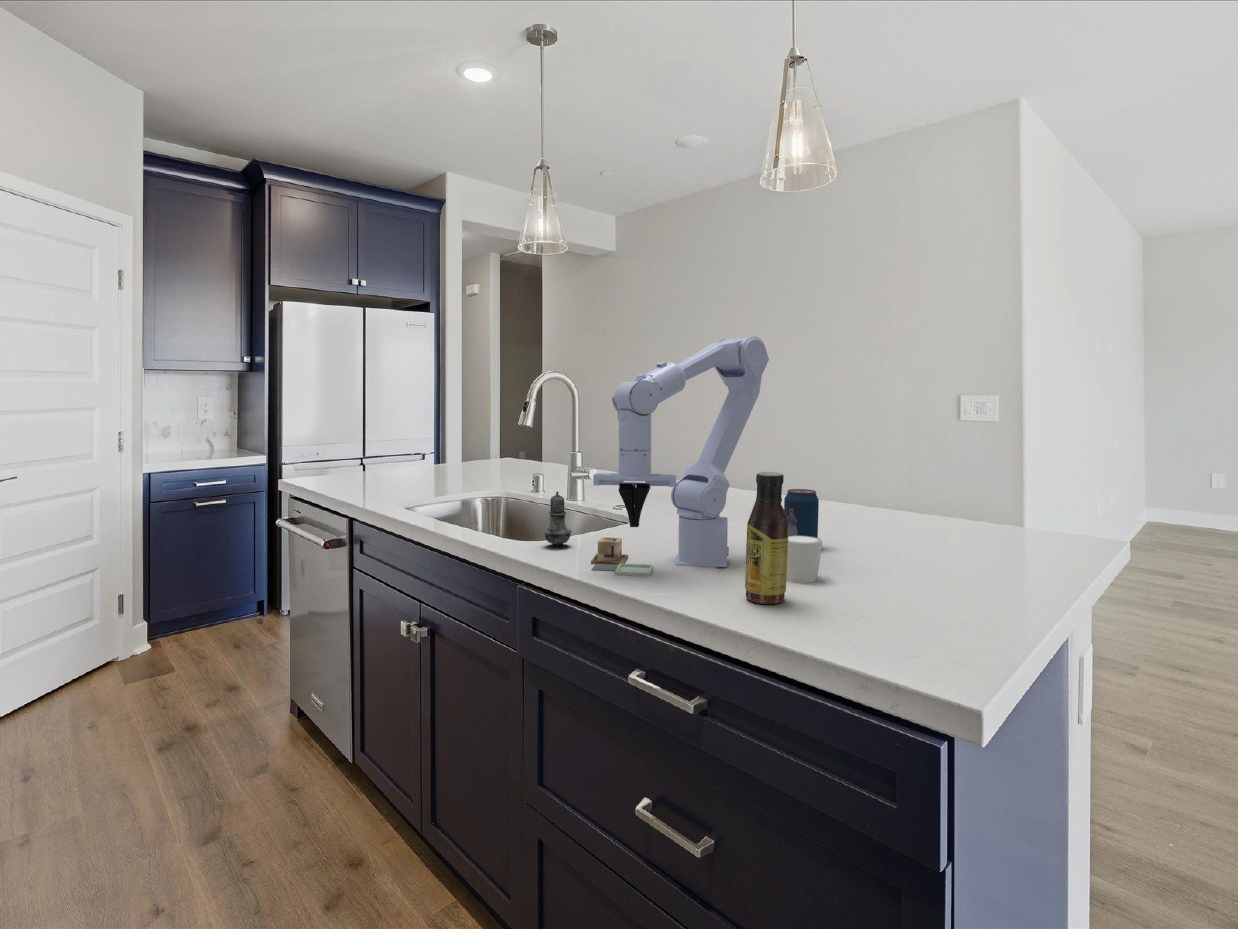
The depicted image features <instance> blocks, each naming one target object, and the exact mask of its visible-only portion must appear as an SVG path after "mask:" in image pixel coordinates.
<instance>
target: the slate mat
mask: <svg viewBox="0 0 1238 929" xmlns="http://www.w3.org/2000/svg"><path fill="white" fill-rule="evenodd" d="M617 567H618V565H614V564H593V567H592V568H591V571H593V572H615V571H616V569H617Z"/></svg>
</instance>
